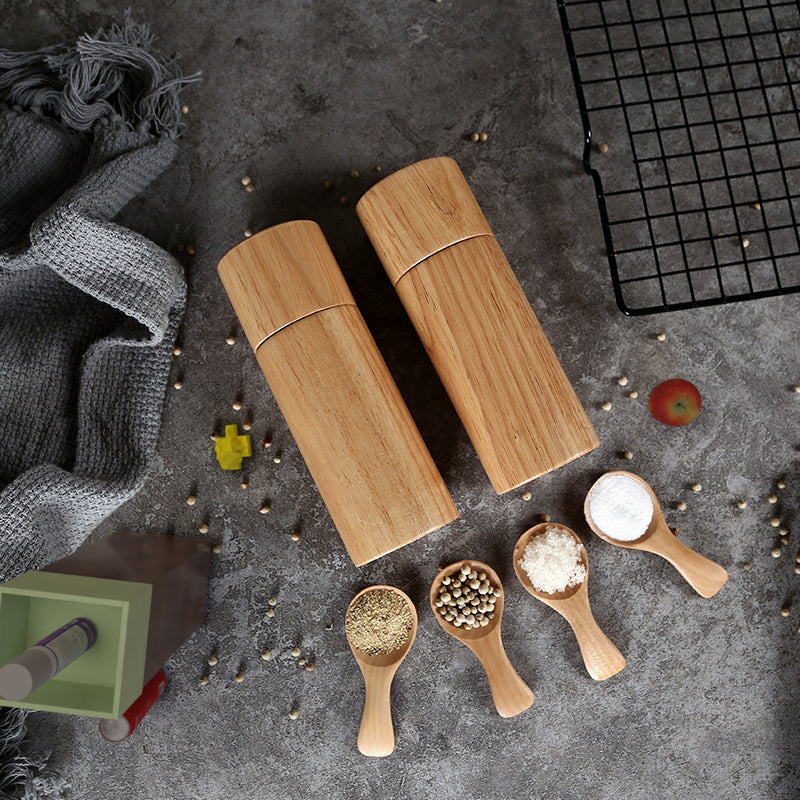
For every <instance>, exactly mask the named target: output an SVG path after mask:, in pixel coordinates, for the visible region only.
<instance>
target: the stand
mask: <svg viewBox="0 0 800 800" xmlns="http://www.w3.org/2000/svg"><path fill="white" fill-rule="evenodd" d="M212 546H213V540H212V539H205V538H196V537H189V536H188V537H187V536H179V535H170V534H161V533H152V532H145V531H144V532H143V531H136V530H128V529H127V530H126V529H120V530H117V531H116V532H114V533H112V534H109V535H108V536H105V537H103V538H101V539H99V540H97V541H94V542H93V543H91V544H89V545H86V546H84V547H83V548H80V549H78V550H76V551H74V552H72V553H70V554H68V555H66V556H63V557H61V558H60V559H58V560H55V561H53V562H51V563H49V564H47V565H45V566H43V567H41V568H39V569H36V571H42V572H50V573H59V574H67V575H76V576H85V577H93V578H102V579H110V580H119V581H127V582H136V583H145V584H152V595H151V605H150V616H149V626H148V636H147V647H146V657H145V667H144V677H143V687H144V686H145V685H146V684H147V683H148V682H149V681H150V679H151V678H152V677H153V676H154V675H155V674H156V673H157V672H158V671H159V670H161V669H162V668H163V666H164V665H166V663H167V662H168V661H169V660H170V659H171V658H172V657H173V656H174V654H176V653H177V652H178V650H179V649H180V648H181V647H182V646H183V645H184V644H185V642H187V640H188V639H189V638H190V637H191V636H192V635H193V634H195V632H196V631H197V629H199V627H201V625H202V624H203V623H204V622H205V618H206V608H207V607H206V606H207V596H208V588H209V577H210V567H211V557H212V548H213V547H212Z"/></svg>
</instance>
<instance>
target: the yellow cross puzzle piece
mask: <svg viewBox="0 0 800 800" xmlns="http://www.w3.org/2000/svg"><path fill="white" fill-rule="evenodd" d="M224 430H225V431H224V433H225V436H223V437H222V436H221V437H216V438H214V440H215V445H214V452H216V457H215V460H217V461H218V463H219V465H220V467H221V469H222V470H229V471H233V470H240V469H242V462H243V458H246V457H251V456H252V446H251V436H250V434H245V435H244V434H243V435H239V434H238V433H239V432H238V424H226V425H225V429H224Z"/></svg>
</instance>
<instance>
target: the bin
mask: <svg viewBox="0 0 800 800" xmlns="http://www.w3.org/2000/svg"><path fill="white" fill-rule="evenodd" d="M151 595H152V584H145V583H136V582H127V581H119V580H110V579H102V578H93V577H85V576H76V575H67V574H59V573H50V572H42V571H37V570H31V569H30V570H28V571H26V572H24V573H21V574H19V575H17V576H16V577H13V578H11V579H9V580H7V581H5V582H3V583H0V669H1V668H2V667H3V666H5V665H6V664H8V663H9V662H10V661H12V660H13V659H15V658H16V657H17V656H19V655H20V654H22V653H23V652H24V651H26V650H27V649H29V648H30V647H32V646H33V645H35V644H36V643H38V642H39V641H41V640H42V639H44V638H45V637H47V636H48V635H50V634H51V633H53V632H55V631H56V630H58V629H59V628H61V627H62V626H64V625H65V624H67V623H68V622H70V621H71V620H73V619H75V618H78V617H85V618H88V619H90V620H92V621H93V622H94V623H95V625H96V627H97V629H98V638H97V641H96V643H95V644H94V645H93V646H92V647H91V648H90V649H88V650H87V651H86V652H84V653H83V654H82V655H81V656H79V657H78V658H77V659H76V660H74V661H73V662H72V663H70V664H69V665H68V666H67V667H65V668H64V669H63V670H61V671H60V672H59V673H58V674H56V675H55V676H54V677H53V678H51V679H50V680H49V681H47V682H46V683H44V684H43V685H42V686H40V687H39V688H37V689H36V690H35V691H33V692H32V693H31V694H29V695H28V696H26V697H25V698H24V699H22V700H19V701H10V700H7V699H5V698H4V697H2V696H1V695H0V706H1V707H10V708H16V709H17V708H18V709H25V710H33V711H41V712H49V713H50V712H51V713H58V714H66V715H75V716H81V717H91V718H99V719H101V718H106V719H114V720H118V719H119V718H120V717H121V716H122V715H123V713H124V712H125V711H126V710H127V709H128V708H129V707H130V706H131V705H132V704H133V702H134V701H135V700H136V699H137V698H138V697H139V696H140V695H141V694H142V688H143V677H144V667H145V657H146V647H147V636H148V626H149V616H150V605H151Z"/></svg>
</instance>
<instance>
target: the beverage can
mask: <svg viewBox="0 0 800 800" xmlns="http://www.w3.org/2000/svg"><path fill="white" fill-rule="evenodd" d="M167 682H168V681H167V677H166V675H165V672H163V670H161V669H160V670H159V671H158V672H157V673H156V674H155V675H154V676H153V677H152V678H151V679H150V681H149V682H148V683H147V684H146V685H145V686H144V687H143V688H142V694H141V695H140V696H139V697H138V698H137V699H136V700H135V701H134V702H133V704H132V705H131V706H130V707H129V708H128V709H127V710H126V711H125V712H124V713H123V715H122V716H121V717H120V718H119V719H118V720H114V719H106V718H100V721H99V723H98V731H99V734H100V736H101V737H102V738H103V739H104V740H105V741H107V742H109V743H112V744H113V743H114V744H115V743H120V742H123V741H124V740H127V739H128V738H129V737H131V735H132V734H133V733H134V732H135V730H136V729H137V728H138V726H139V725H140V724H141V722H142V721H143V720H144V718H145V717H146V716H147V715H148V713H149V711H150V710H151V709H152V708H153V706H154V705H155V703H156V702H157V701H158V699H160V696H161V695H162V694H163V693H164V691H165V689H166V687H167V684H168V683H167Z"/></svg>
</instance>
